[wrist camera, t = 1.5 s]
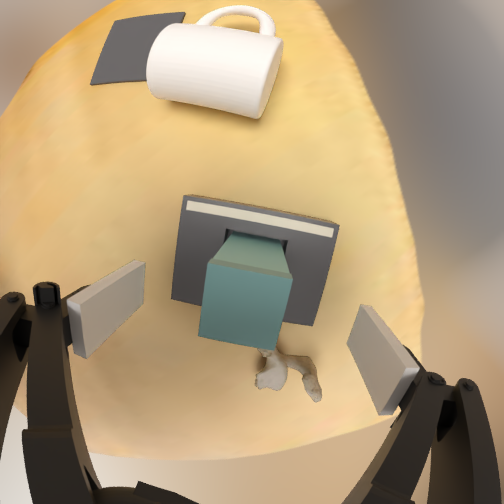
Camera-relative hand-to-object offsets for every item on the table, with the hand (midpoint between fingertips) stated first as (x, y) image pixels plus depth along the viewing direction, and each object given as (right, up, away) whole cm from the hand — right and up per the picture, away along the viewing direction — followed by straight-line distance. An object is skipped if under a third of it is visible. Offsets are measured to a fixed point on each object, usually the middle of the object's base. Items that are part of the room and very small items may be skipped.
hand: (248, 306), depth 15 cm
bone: (+3, -9, +15) cm, 17 cm away
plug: (0, +3, +11) cm, 12 cm away
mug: (-2, +22, +8) cm, 24 cm away
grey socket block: (0, +3, +12) cm, 12 cm away
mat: (-13, +27, +7) cm, 31 cm away
